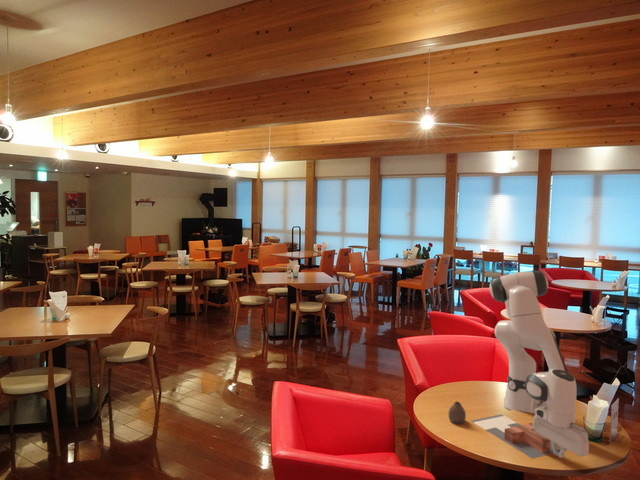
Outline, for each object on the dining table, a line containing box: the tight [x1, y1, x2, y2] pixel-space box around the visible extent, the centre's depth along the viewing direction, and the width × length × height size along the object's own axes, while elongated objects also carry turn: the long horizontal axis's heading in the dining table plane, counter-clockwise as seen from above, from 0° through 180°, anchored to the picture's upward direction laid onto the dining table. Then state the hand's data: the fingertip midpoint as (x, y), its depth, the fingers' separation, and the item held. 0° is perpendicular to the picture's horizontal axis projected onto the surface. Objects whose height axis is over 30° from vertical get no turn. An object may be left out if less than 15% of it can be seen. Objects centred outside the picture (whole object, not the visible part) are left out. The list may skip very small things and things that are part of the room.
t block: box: [504, 422, 551, 453], centre depth 173 cm, size 14×13×4 cm
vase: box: [448, 401, 467, 425], centre depth 191 cm, size 7×7×9 cm
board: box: [471, 414, 561, 459], centre depth 181 cm, size 17×32×1 cm, turn 23°
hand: (558, 455), depth 162 cm, fingers closed
